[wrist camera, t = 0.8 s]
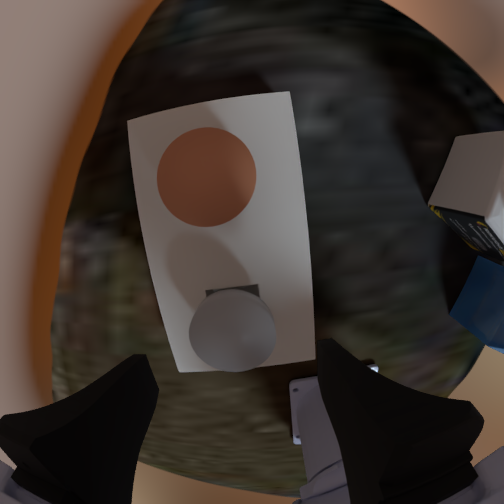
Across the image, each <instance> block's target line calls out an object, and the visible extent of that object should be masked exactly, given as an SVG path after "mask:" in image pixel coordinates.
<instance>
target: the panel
mask: <svg viewBox="0 0 504 504" xmlns="http://www.w3.org/2000/svg"><path fill="white" fill-rule="evenodd" d="M127 125H128V136H129V147H130V156H131V165H132V172H133V180H134V187H135V194H136V200H137V206H138V212H139V218H140V224H141V229H142V234H143V239H144V244H145V249H146V254H147V259H148V263H149V267H150V272H151V276H152V280H153V284H154V288H155V292H156V296H157V300H158V304H159V308H160V311H161V315H162V319H163V322H164V326H165V329H166V333H167V336H168V339H169V342H170V346H171V349H172V352H173V355H174V358H175V361H176V364H177V367H178V370H179V372H200V371H218V370H219V369H216V368H213V367H211V366H210V365H208V364H206V363H205V362H203V361H202V360H201V359H200V358H199V357H198V356H197V355H196V353H195V352H194V350H193V348H192V346H191V343H190V340H189V327H190V323H191V321H192V318H193V316H194V313H195V311H196V309H197V307H198V306H199V304H200V303H201V302H202V301H203V300H204V299H205V298H206V297H208V296H209V295H211V294H213V293H215V292H218V291H221V290H227V289H236V290H243V291H246V292H249V293H252V294H254V295H256V296H257V297H259V298H260V299H261V300H263V301H264V302H265V303H266V305H267V306H268V307H269V309H270V310H271V312H272V315H273V318H274V323H275V329H276V344H275V347H274V350H273V352H272V353H271V355H270V356H269V357H268V359H267V360H266V361H264V362H263V363H262V364H260V365H259V366H257V367H264V366H272V365H280V364H287V363H294V362H301V361H307V360H314V359H315V330H314V308H313V290H312V274H311V260H310V248H309V236H308V226H307V215H306V206H305V197H304V188H303V179H302V171H301V164H300V156H299V149H298V142H297V135H296V128H295V122H294V115H293V109H292V103H291V97H290V92H276V93H265V94H255V95H247V96H239V97H232V98H225V99H219V100H213V101H207V102H202V103H197V104H192V105H187V106H182V107H177V108H173V109H169V110H165V111H161V112H157V113H153V114H149V115H145V116H142V117H138V118H135V119H131V120H128V121H127ZM204 127H212V128H219V129H222V130H225V131H228V132H230V133H232V134H233V135H235V136H236V137H238V138H239V139H240V140H241V141H242V142H243V143H244V144H245V145H246V146H247V148H248V149H249V151H250V153H251V155H252V157H253V160H254V162H255V167H256V185H255V190H254V192H253V195H252V197H251V199H250V201H249V203H248V204H247V206H246V207H245V208H244V210H243V211H242V212H241V213H240V214H239V215H237V216H236V217H235V218H233V219H232V220H230V221H228V222H226V223H224V224H221V225H217V226H213V227H198V226H193V225H190V224H187V223H185V222H183V221H181V220H179V219H178V218H176V217H175V216H174V215H173V214H172V213H171V212H170V211H169V210H168V209H167V208H166V206H165V205H164V203H163V201H162V199H161V197H160V194H159V191H158V187H157V170H158V165H159V162H160V159H161V157H162V155H163V153H164V152H165V150H166V149H167V147H168V146H169V145H170V144H171V143H172V142H173V141H174V140H175V139H176V138H177V137H179V136H180V135H182V134H184V133H186V132H188V131H190V130H193V129H197V128H204Z"/></svg>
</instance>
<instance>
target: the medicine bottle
mask: <svg viewBox="0 0 504 504" xmlns="http://www.w3.org/2000/svg"><path fill="white" fill-rule="evenodd" d="M428 207H429V208H430V209H431V210H432V211H433V212H434V213H436V214H437V215H438V216H439V217H440V218H441V219H442V220H443V221H444V222H445V223H446V224H448V225H449V226H450V227H451V228H452V229H453V230H454V231H455V232H456V233H457V234H458V235H459V236H460V237H461V238H462V239H463V240H464V241H465V242H466V243H467V244H468V245H469V246H470V247H471V248H472V249H475V250H477V251H480V252H482V253H485V254H487V255H490V256H492V257H494V258H497V259H499V260H502V261H504V131H497V132H487V133H479V134H470V135H463V136H457V137H456V138H455V140H454V143H453V145H452V148H451V150H450V153H449V156H448V158H447V161H446V163H445V166H444V168H443V170H442V173H441V175H440V177H439V180H438V182H437V184H436V186H435V189H434V191H433V193H432V195H431V197H430V199H429V201H428Z"/></svg>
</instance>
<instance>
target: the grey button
mask: <svg viewBox="0 0 504 504" xmlns="http://www.w3.org/2000/svg"><path fill="white" fill-rule="evenodd" d="M189 340H190V343H191V346H192V348H193V350H194V352H195V353H196V355H197V356H198V357H199V358H200V359H201V360H202V361H203V362H205V363H206V364H208V365H210V366H211V367H213V368H216V369H219V370H222V371H227V372H241V371H247V370H250V369H253V368H255V367H257V366H259V365H260V364H262V363H263V362H264V361H266V360H267V359H268V357H269V356H270V355H271V353H272V352H273V350H274V347H275V344H276V329H275V323H274V318H273V315H272V312H271V310H270V309H269V307H268V306H267V305H266V303H265V302H264V301H263V300H261V299H260V298H259V297H257V296H256V295H254V294H252V293H249V292H246V291H243V290H236V289H227V290H221V291H218V292H215V293H213V294H211V295H209V296H208V297H206V298H205V299H204V300H203V301H202V302H201V303H200V304H199V306H198V307H197V309H196V311H195V313H194V316H193V318H192V321H191V323H190V327H189Z"/></svg>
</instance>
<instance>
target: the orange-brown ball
mask: <svg viewBox="0 0 504 504" xmlns="http://www.w3.org/2000/svg"><path fill="white" fill-rule="evenodd" d="M255 185H256V167H255V162H254V160H253V157H252V155H251V153H250V151H249V149H248V148H247V146H246V145H245V144H244V143H243V142H242V141H241V140H240V139H239V138H238V137H236V136H235V135H233V134H232V133H230V132H228V131H225V130H222V129H219V128H212V127H204V128H197V129H193V130H190V131H188V132H186V133H184V134H182V135H180V136H179V137H177V138H176V139H175V140H174V141H173V142H172V143H171V144H170V145H169V146H168V147H167V149H166V150H165V152H164V153H163V155H162V157H161V159H160V162H159V165H158V170H157V187H158V191H159V194H160V197H161V199H162V201H163V203H164V205H165V206H166V208H167V209H168V210H169V211H170V212H171V213H172V214H173V215H174V216H175V217H176V218H178V219H179V220H181V221H183V222H185V223H187V224H190V225H193V226H198V227H213V226H217V225H221V224H224V223H226V222H228V221H230V220H232V219H233V218H235V217H236V216H237V215H239V214H240V213H241V212H242V211H243V210H244V208H245V207H246V206H247V204H248V203H249V201H250V199H251V197H252V195H253V192H254V190H255Z"/></svg>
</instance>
